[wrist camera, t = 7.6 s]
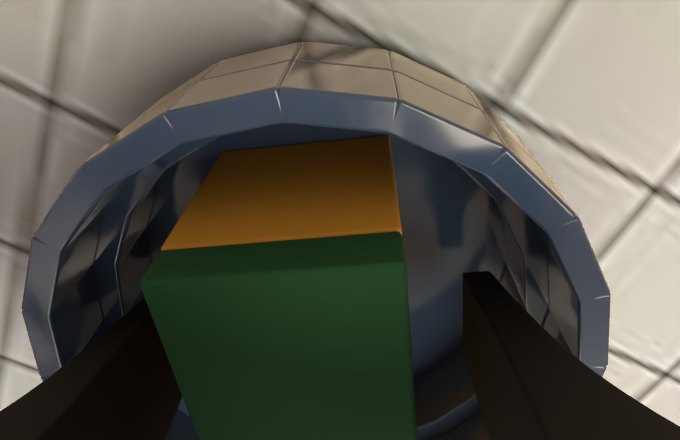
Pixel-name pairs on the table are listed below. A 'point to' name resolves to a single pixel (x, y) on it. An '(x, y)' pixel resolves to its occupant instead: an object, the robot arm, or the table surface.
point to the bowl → (321, 126)
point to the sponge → (290, 297)
